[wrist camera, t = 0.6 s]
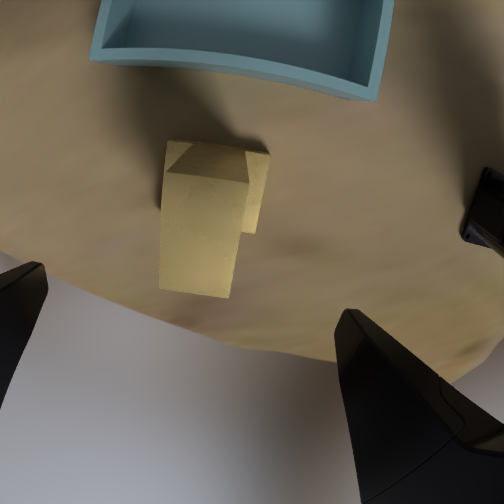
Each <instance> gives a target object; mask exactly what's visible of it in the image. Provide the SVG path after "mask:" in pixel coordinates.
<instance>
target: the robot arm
mask: <svg viewBox="0 0 504 504" xmlns="http://www.w3.org/2000/svg"><path fill="white" fill-rule="evenodd" d="M488 172H489V174H488ZM466 235H467V236H466ZM461 238H462V239H463V240H464V241H465V242H469V243H473V244H476V245H480V246H484V247H487V248H491V249H493V250H494V251H495V252H496V253H498V254H499V255H500V256H501V257H502V258H504V175H502V174H500V173H498V172H497V171H495V170H493V169H491V168H489V167H486V168H485V169H484V170H483V173H482V177H481V180H480V183H479V186H478V189H477V192H476V195H475V198H474V201H473V204H472V207H471V210H470V212H469V215H468V218H467V220H466V223H465V226H464V228H463V231H462V233H461ZM47 293H48V282H47V277H46V272H45V267H44V265H43V264H42V263H39V262H34V261H31V262H28V263H26V264H23V265H21V266H19V267H16V268H14V269H11V270H9V271H7V272H4V273H2V274H0V408H1V405H2V403H3V400H4V397H5V394H6V392H7V389H8V386H9V384H10V382H11V379H12V377H13V374H14V372H15V369H16V367H17V365H18V362H19V360H20V358H21V355H22V353H23V351H24V349H25V347H26V345H27V342H28V340H29V338H30V336H31V334H32V331H33V329H34V326H35V324H36V321H37V318H38V316H39V313H40V311H41V308H42V306H43V303H44V301H45V299H46V296H47ZM334 339H335V348H336V358H337V367H338V376H339V383H340V388H341V393H342V397H343V402H344V407H345V412H346V417H347V422H348V428H349V433H350V438H351V444H352V449H353V455H354V461H355V466H356V472H357V479H358V485H359V491H360V498H361V503H362V504H504V424H503V423H501V422H499V421H498V420H497V419H495V418H494V417H493V416H491V415H490V414H488V413H487V412H486V411H484V410H483V409H482V408H480V407H479V406H478V405H476V404H475V403H473V402H472V401H471V400H469V399H468V398H467V397H465V396H464V395H463V394H461V393H460V392H459V391H457V390H456V389H455V388H454V387H453V386H451V385H450V384H449V383H448V382H446V381H445V380H444V379H443V378H442V377H439V375H438V374H437V373H436V372H434V371H433V370H432V369H431V368H430V367H428V366H427V365H426V364H425V363H424V362H422V361H421V360H420V359H419V358H418V357H416V356H415V355H414V354H413V353H411V352H410V351H409V350H408V349H407V348H405V347H404V346H403V345H402V344H400V343H399V342H398V341H397V340H396V339H394V338H393V337H392V336H391V335H389V334H388V333H387V332H386V331H384V330H383V329H382V328H381V327H380V326H378V325H377V324H376V323H375V322H373V321H372V320H371V319H370V318H368V317H367V316H366V315H365V314H363V313H362V312H361V311H360V310H358V309H348V308H347V309H345V310H344V311H343V313H342V315H341V317H340V320H339V322H338V324H337V326H336V329H335V332H334Z"/></svg>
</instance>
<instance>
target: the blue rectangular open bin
mask: <svg viewBox="0 0 504 504" xmlns="http://www.w3.org/2000/svg"><path fill="white" fill-rule="evenodd" d="M393 7H394V0H102V1H101V5H100V9H99V13H98V17H97V21H96V26H95V30H94V35H93V40H92V45H91V50H90V56H89V61H94V62H99V63H105V64H110V65H115V66H153V67H172V68H186V69H197V70H206V71H215V72H223V73H230V74H237V75H243V76H249V77H255V78H261V79H266V80H271V81H276V82H281V83H286V84H290V85H295V86H299V87H303V88H307V89H311V90H315V91H319V92H323V93H326V94H330V95H334V96H337V97H340V98H344V99H347V100H355V101H368V102H376V100H377V96H378V91H379V86H380V82H381V77H382V72H383V67H384V62H385V56H386V51H387V45H388V39H389V33H390V27H391V21H392V14H393Z"/></svg>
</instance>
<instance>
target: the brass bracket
mask: <svg viewBox="0 0 504 504" xmlns="http://www.w3.org/2000/svg"><path fill="white" fill-rule="evenodd" d="M270 158H271V155H270V153H268V152H263V151H257V150H251V149H245V148H239V147H233V146H226V145H219V144H212V143H205V142H197V141H189V140H180V139H169V140H168V141H167V148H166V157H165V167H164V177H163V188H162V200H161V214H160V220H162V223H161V241H160V264H159V289H166V290H172V291H179V292H186V293H193V294H200V295H207V296H214V297H222V298H229V294H230V288H231V282H232V277H233V271H234V266H235V260H236V254H237V249H238V243H239V238H240V233H241V232H248V233H254V234H255V231H256V226H257V221H258V216H259V211H260V207H261V202H262V197H263V192H264V187H265V182H266V178H267V173H268V168H269V163H270Z"/></svg>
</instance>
